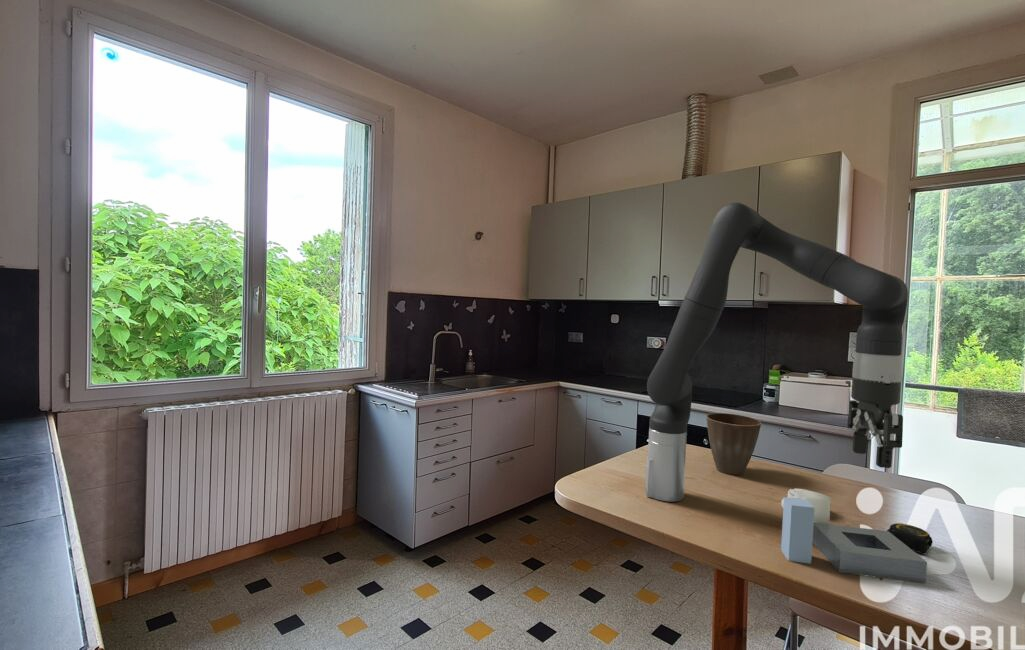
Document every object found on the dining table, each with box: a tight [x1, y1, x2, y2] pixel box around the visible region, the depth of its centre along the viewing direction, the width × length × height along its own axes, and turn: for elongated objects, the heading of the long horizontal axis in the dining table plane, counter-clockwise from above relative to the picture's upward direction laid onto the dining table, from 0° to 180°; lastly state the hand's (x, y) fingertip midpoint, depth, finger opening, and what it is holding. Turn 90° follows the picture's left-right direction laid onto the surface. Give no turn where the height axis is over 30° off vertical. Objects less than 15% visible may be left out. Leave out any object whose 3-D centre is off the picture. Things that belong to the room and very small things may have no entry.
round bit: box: [798, 490, 832, 524], centre depth 104 cm, size 6×6×8 cm
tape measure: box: [886, 522, 933, 555], centre depth 98 cm, size 7×7×4 cm
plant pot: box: [706, 412, 762, 476], centre depth 141 cm, size 15×15×16 cm
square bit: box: [780, 496, 814, 565], centre depth 92 cm, size 4×4×11 cm
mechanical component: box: [780, 487, 809, 508], centre depth 115 cm, size 10×4×10 cm
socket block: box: [812, 523, 928, 584], centre depth 92 cm, size 14×12×4 cm
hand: (870, 459), depth 91 cm, fingers open, 8 cm apart
